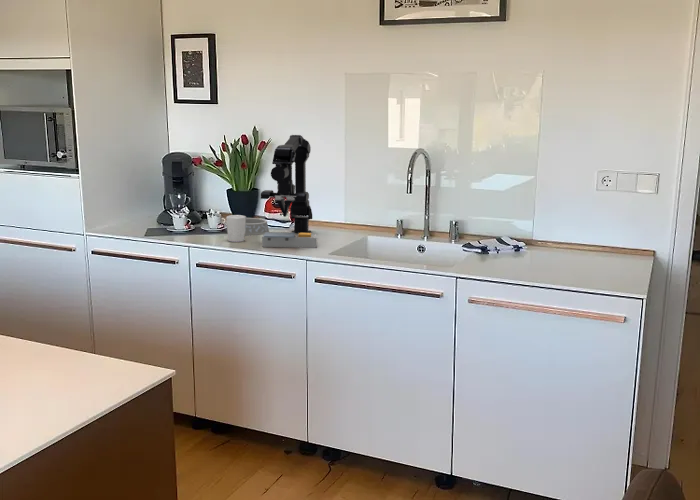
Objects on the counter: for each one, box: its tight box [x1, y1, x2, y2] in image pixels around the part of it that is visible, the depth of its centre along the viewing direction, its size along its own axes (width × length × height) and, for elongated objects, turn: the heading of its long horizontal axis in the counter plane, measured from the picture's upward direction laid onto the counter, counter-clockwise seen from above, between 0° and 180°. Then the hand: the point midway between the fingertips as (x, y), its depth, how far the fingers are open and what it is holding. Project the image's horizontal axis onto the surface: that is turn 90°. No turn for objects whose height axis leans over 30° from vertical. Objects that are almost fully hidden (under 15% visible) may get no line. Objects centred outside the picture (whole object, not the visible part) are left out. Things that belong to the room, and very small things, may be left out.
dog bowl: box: [245, 217, 270, 237], centre depth 318 cm, size 17×18×5 cm
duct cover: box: [264, 231, 296, 238], centre depth 289 cm, size 9×12×1 cm
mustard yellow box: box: [297, 232, 312, 237], centre depth 300 cm, size 4×5×4 cm
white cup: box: [225, 214, 247, 243], centre depth 298 cm, size 8×8×10 cm
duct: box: [261, 233, 317, 249], centre depth 291 cm, size 8×22×4 cm, turn 93°
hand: (284, 216), depth 291 cm, fingers closed
